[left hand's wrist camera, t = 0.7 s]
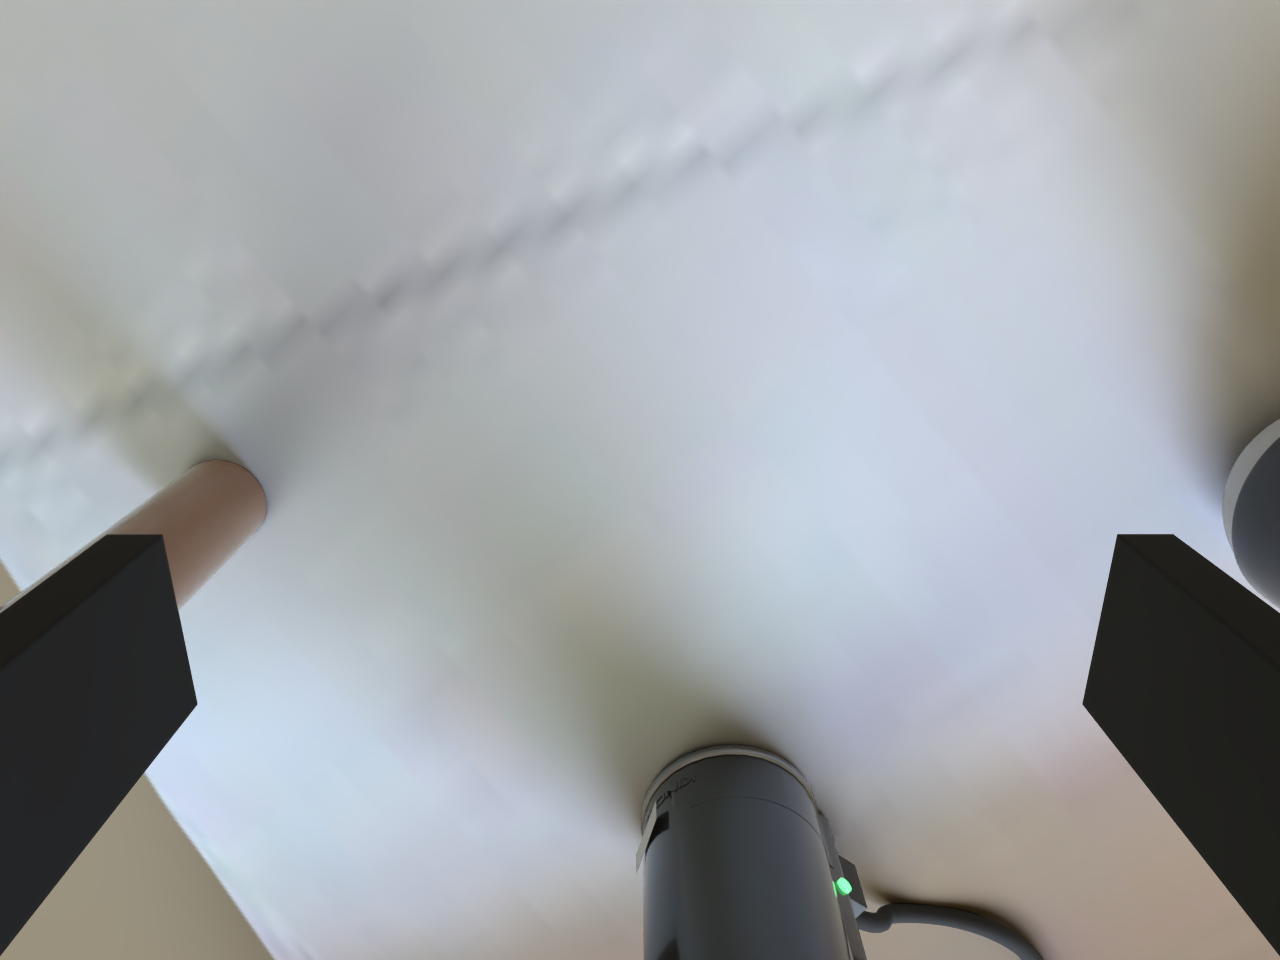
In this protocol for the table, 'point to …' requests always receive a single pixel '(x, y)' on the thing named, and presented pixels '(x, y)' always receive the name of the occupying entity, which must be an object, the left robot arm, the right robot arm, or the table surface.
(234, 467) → the pinkish beige cylinder
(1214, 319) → the table surface
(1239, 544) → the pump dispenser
